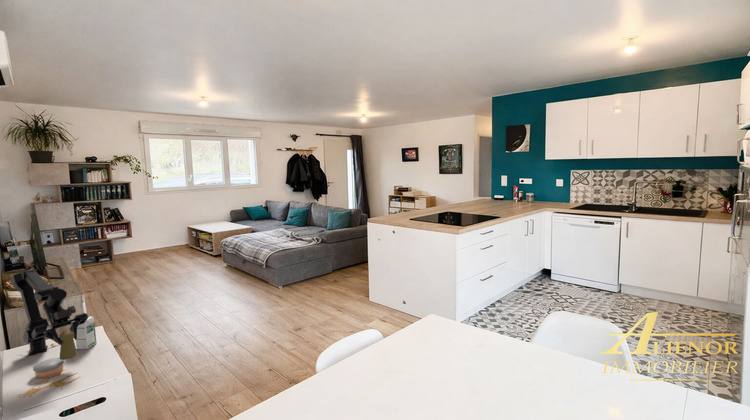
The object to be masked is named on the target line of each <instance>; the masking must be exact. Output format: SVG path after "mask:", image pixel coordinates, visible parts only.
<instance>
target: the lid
mask: <svg viewBox="0 0 750 420" xmlns="http://www.w3.org/2000/svg"><path fill="white" fill-rule="evenodd" d="M64 363H65V360H61V359H60V357H54V358H48V359H44V360H42V361H40V362H38V363H36V364H35V365H33V366H32V371H33V372H34V373H35V372H45V371H49V370H52V369H55V368H57V367H59V366H61V365H62V364H63V365H64Z"/></svg>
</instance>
